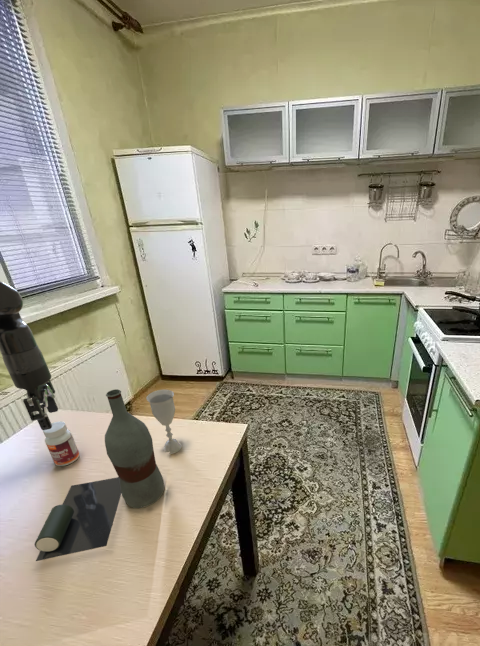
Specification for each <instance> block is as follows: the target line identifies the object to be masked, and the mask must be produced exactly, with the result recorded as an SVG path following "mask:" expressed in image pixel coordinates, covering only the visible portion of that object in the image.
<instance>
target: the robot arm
mask: <svg viewBox="0 0 480 646" xmlns="http://www.w3.org/2000/svg"><path fill="white" fill-rule="evenodd" d="M23 307H24V300H23V297H22V295H21V294H20V293H19V291H18V290H16V289H15V288H14V287H12V286H10V285H9V284H6V283H4V282H2V281H0V354H1V357H2V361H3V363H4V365H5V367H6V370H7V372H8V374H9V376H10V379H11V381H12V383H13V385H14V387H15V388H17V389H20V390H24V391H26V398H23V400H22V402H23V404H24V406H25V408H26V411H27V413H28V416H29V418H30V420H31V421H32V422H33V421H37V423H38V425H39V427H40V429H41V430H42V431H43V430H47V429H51V428H52V424H51V423H52V421H51V419H50V418H49V415H48V413H49V414H52V413H57V412H58V411H59V407H58V405H57V402H56V400H55V398H56V397H55V394H56V390H55V388H54V384H53V383H52V381H51V379H52V374H51V372H50V369H49V367H48V364H47V362H46V359H45V357H44V355H43V353H42V350H41V349H40V348H39V345H38V343H37V341H36V340H37V339H36V338H35V336H34V333H33V331H32V329H31V328H30V326H29V325H28V324H27V323H26V322H25V321H24V320H23V318H22V316H21V314H20V312H21V310H22V309H23ZM47 411H48V412H47Z"/></svg>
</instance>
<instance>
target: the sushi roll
mask: <svg viewBox="0 0 480 646" xmlns="http://www.w3.org/2000/svg"><path fill="white" fill-rule="evenodd" d="M73 514H74V510H73V508H72V507H70V506H68V505H62V504H57V505H55V506H53V507H52V508H51V510H50V512H49V514H48V516H47V517H46V519H45V522H44V523H43V526H42V528H41V529H40V532H39V534H38V536H37V538H36V540H35V541H34V547H35V549H37V550H38V551H39V552H40V551H44V552H50V551H54V550H56V549H58V548H59V547H60V545H61V542H62V540H63V537H64V535H65V533H66V530H67V528H68V526H69V523H70V521H71V519H72V516H73Z"/></svg>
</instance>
